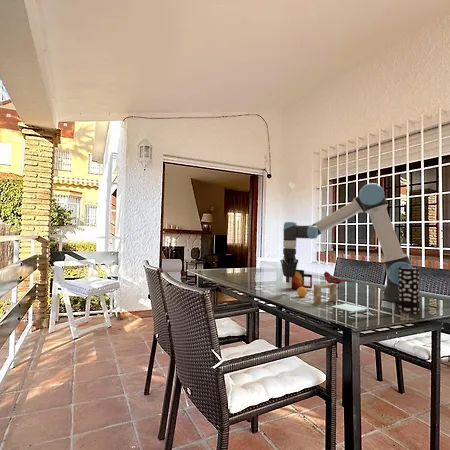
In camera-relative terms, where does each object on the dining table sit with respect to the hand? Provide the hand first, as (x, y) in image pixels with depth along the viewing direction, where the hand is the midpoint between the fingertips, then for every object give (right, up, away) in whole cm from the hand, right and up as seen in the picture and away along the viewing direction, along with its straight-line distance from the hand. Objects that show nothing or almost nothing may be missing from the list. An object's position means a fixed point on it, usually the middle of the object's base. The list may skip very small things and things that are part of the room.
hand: (288, 287), depth 179 cm
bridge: (+14, -3, -22) cm, 26 cm away
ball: (+6, -1, -8) cm, 10 cm away
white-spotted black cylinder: (+48, -3, -39) cm, 61 cm away
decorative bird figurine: (+37, -6, +27) cm, 46 cm away
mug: (+11, -5, +18) cm, 22 cm away
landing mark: (+22, -3, -34) cm, 40 cm away
